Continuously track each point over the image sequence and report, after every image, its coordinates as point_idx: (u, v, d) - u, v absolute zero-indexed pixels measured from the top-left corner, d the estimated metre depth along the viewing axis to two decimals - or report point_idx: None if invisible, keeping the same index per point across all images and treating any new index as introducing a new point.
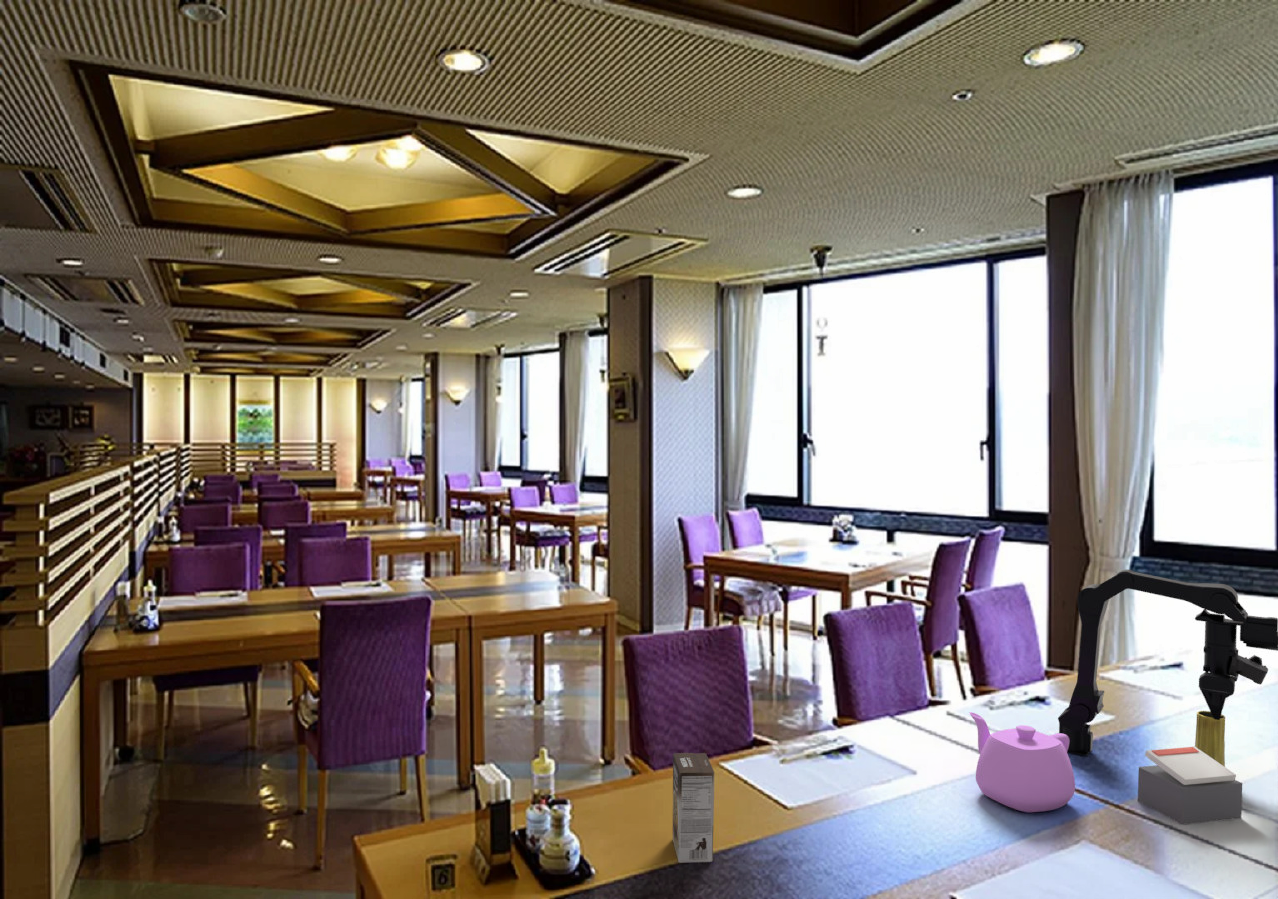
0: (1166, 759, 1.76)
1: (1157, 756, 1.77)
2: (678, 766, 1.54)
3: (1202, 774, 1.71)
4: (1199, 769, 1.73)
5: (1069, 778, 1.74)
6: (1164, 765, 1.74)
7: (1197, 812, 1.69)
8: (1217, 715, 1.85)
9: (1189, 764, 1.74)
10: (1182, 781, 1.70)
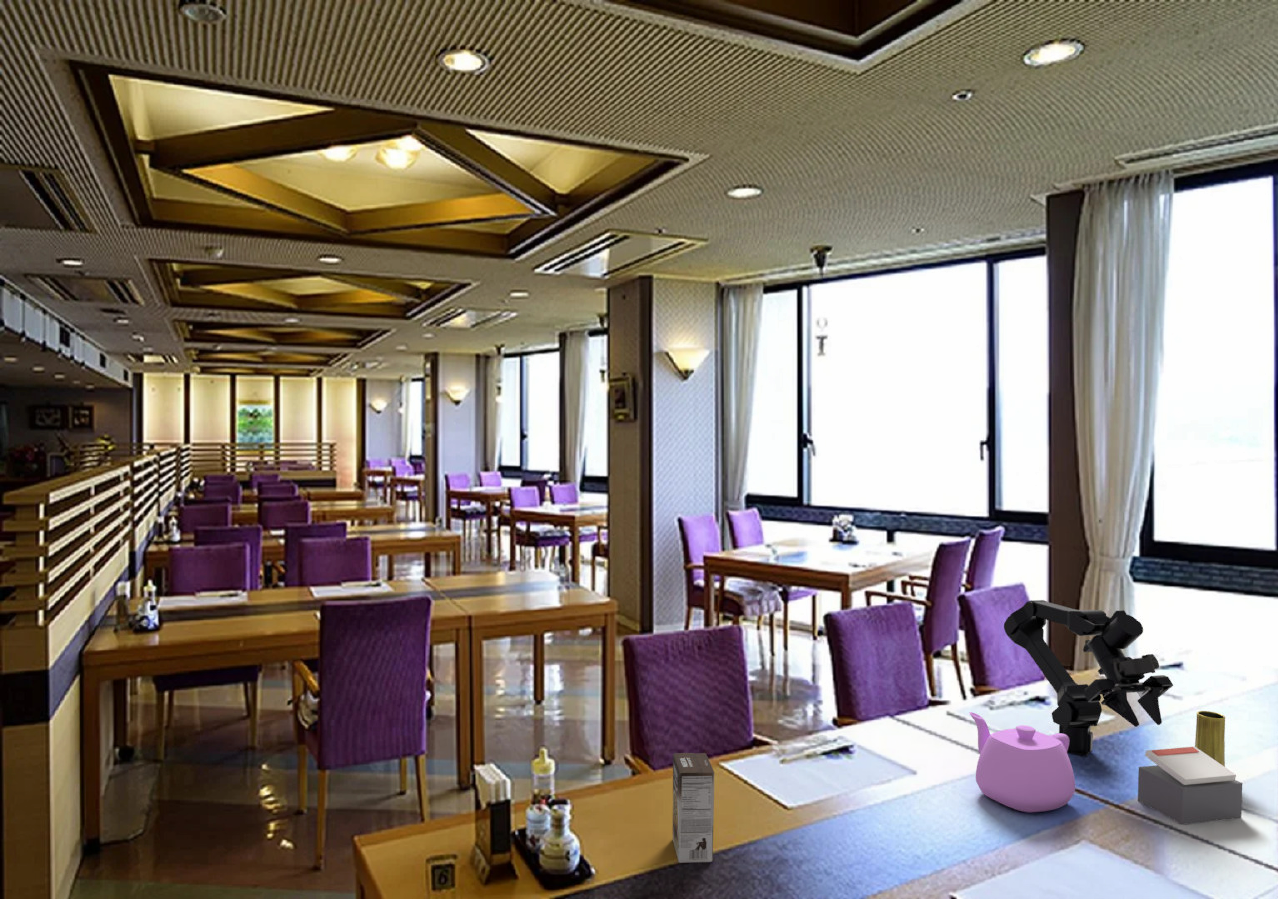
0: (1166, 759, 1.76)
1: (1157, 756, 1.77)
2: (678, 766, 1.54)
3: (1202, 774, 1.71)
4: (1199, 769, 1.73)
5: (1069, 778, 1.74)
6: (1164, 765, 1.74)
7: (1197, 812, 1.69)
8: (1133, 721, 1.85)
9: (1189, 764, 1.74)
10: (1182, 781, 1.70)
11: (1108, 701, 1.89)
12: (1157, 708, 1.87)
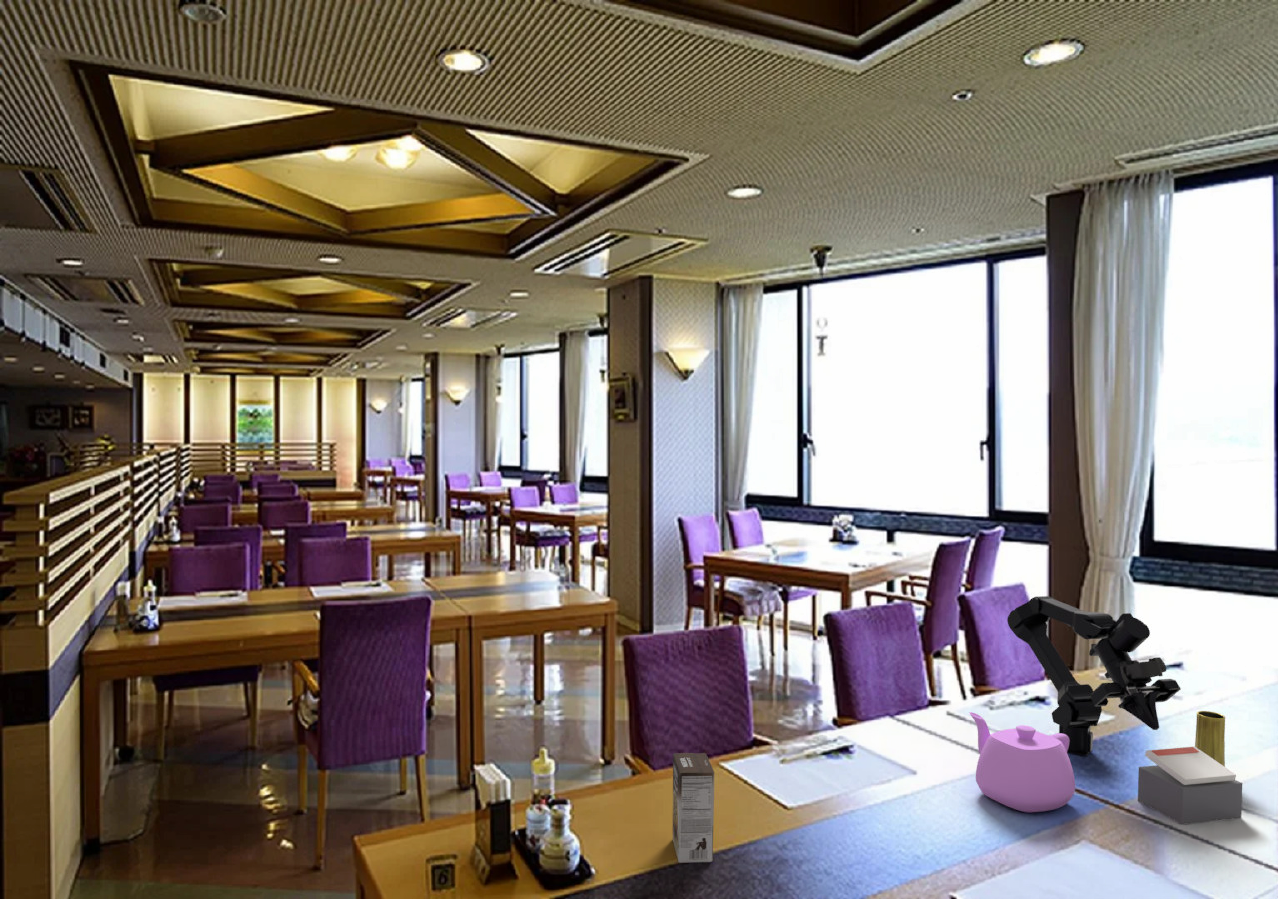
0: (1166, 759, 1.76)
1: (1157, 756, 1.77)
2: (678, 766, 1.54)
3: (1202, 774, 1.71)
4: (1199, 769, 1.73)
5: (1069, 778, 1.74)
6: (1164, 765, 1.74)
7: (1197, 812, 1.69)
8: (1151, 724, 1.84)
9: (1189, 764, 1.74)
10: (1182, 781, 1.70)
11: (1125, 704, 1.88)
12: (1154, 713, 1.85)
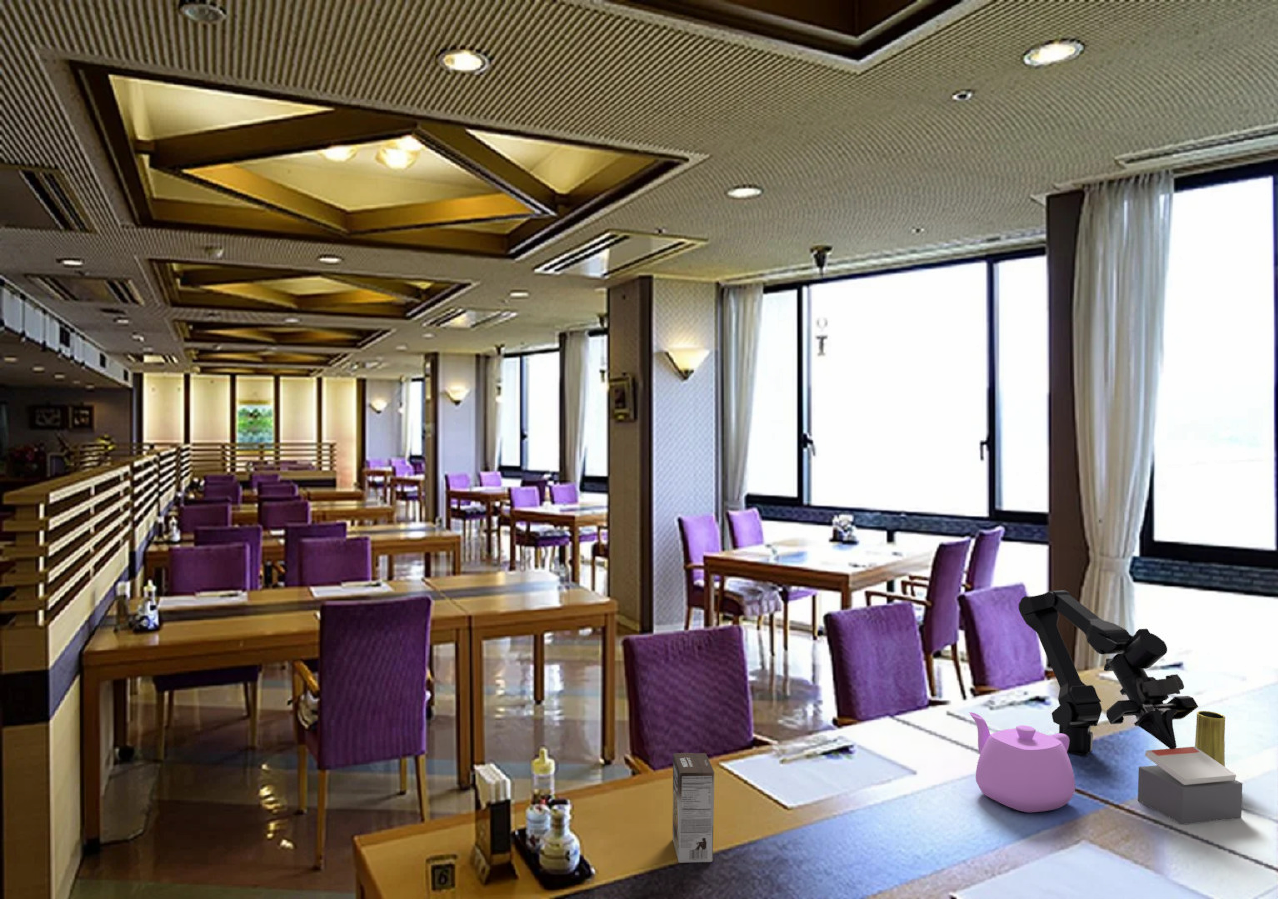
0: (1166, 759, 1.76)
1: (1157, 756, 1.77)
2: (678, 766, 1.54)
3: (1202, 774, 1.71)
4: (1199, 769, 1.73)
5: (1069, 778, 1.74)
6: (1164, 765, 1.74)
7: (1197, 812, 1.69)
8: (1168, 743, 1.79)
9: (1189, 764, 1.74)
10: (1182, 781, 1.70)
11: (1142, 722, 1.84)
12: (1171, 731, 1.80)
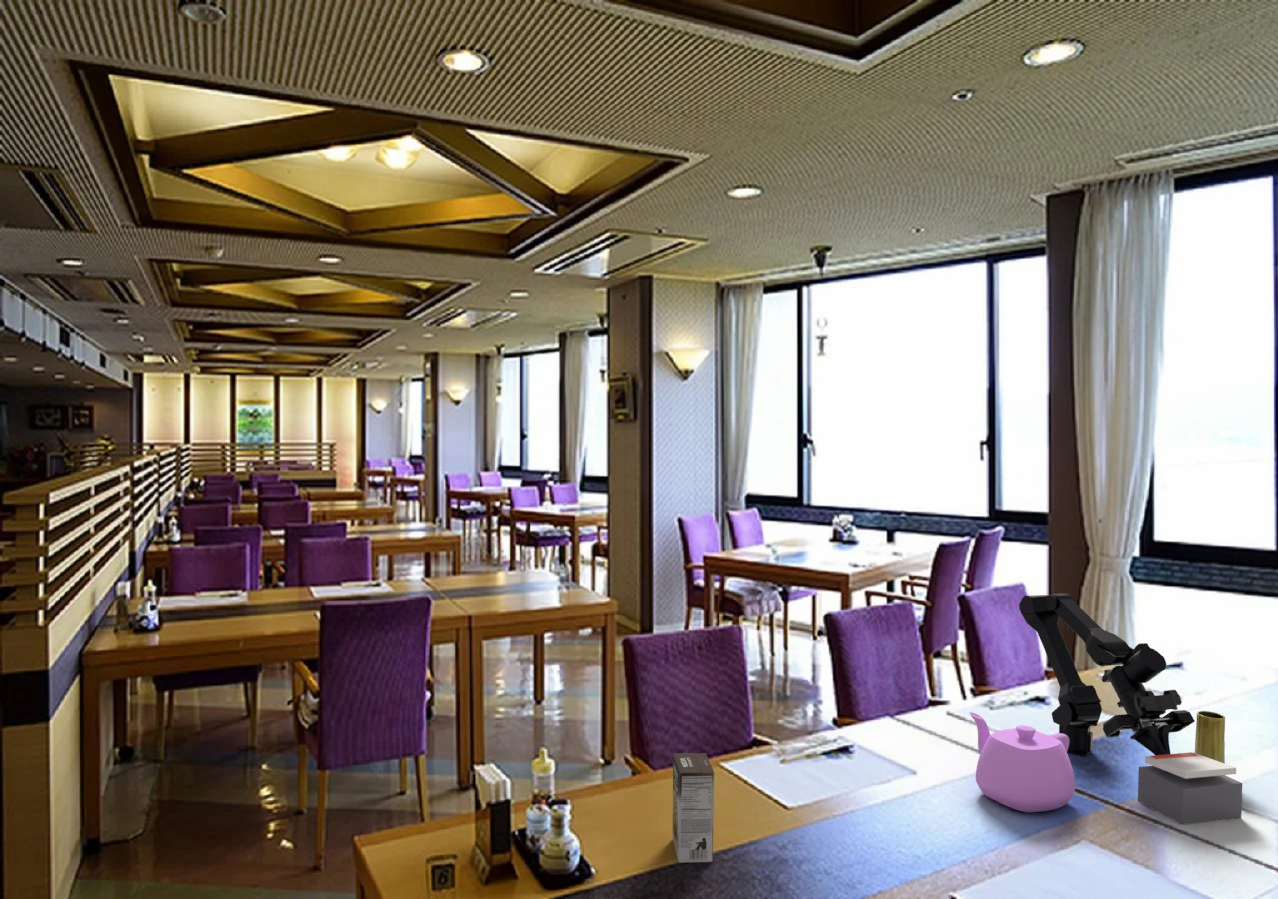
0: (1165, 761, 1.76)
1: (1156, 759, 1.77)
2: (678, 766, 1.54)
3: (1202, 768, 1.71)
4: (1198, 765, 1.73)
5: (1069, 778, 1.74)
6: (1164, 765, 1.74)
7: (1197, 812, 1.69)
8: None
9: (1188, 763, 1.74)
10: (1183, 775, 1.69)
11: (1138, 736, 1.85)
12: (1167, 746, 1.81)
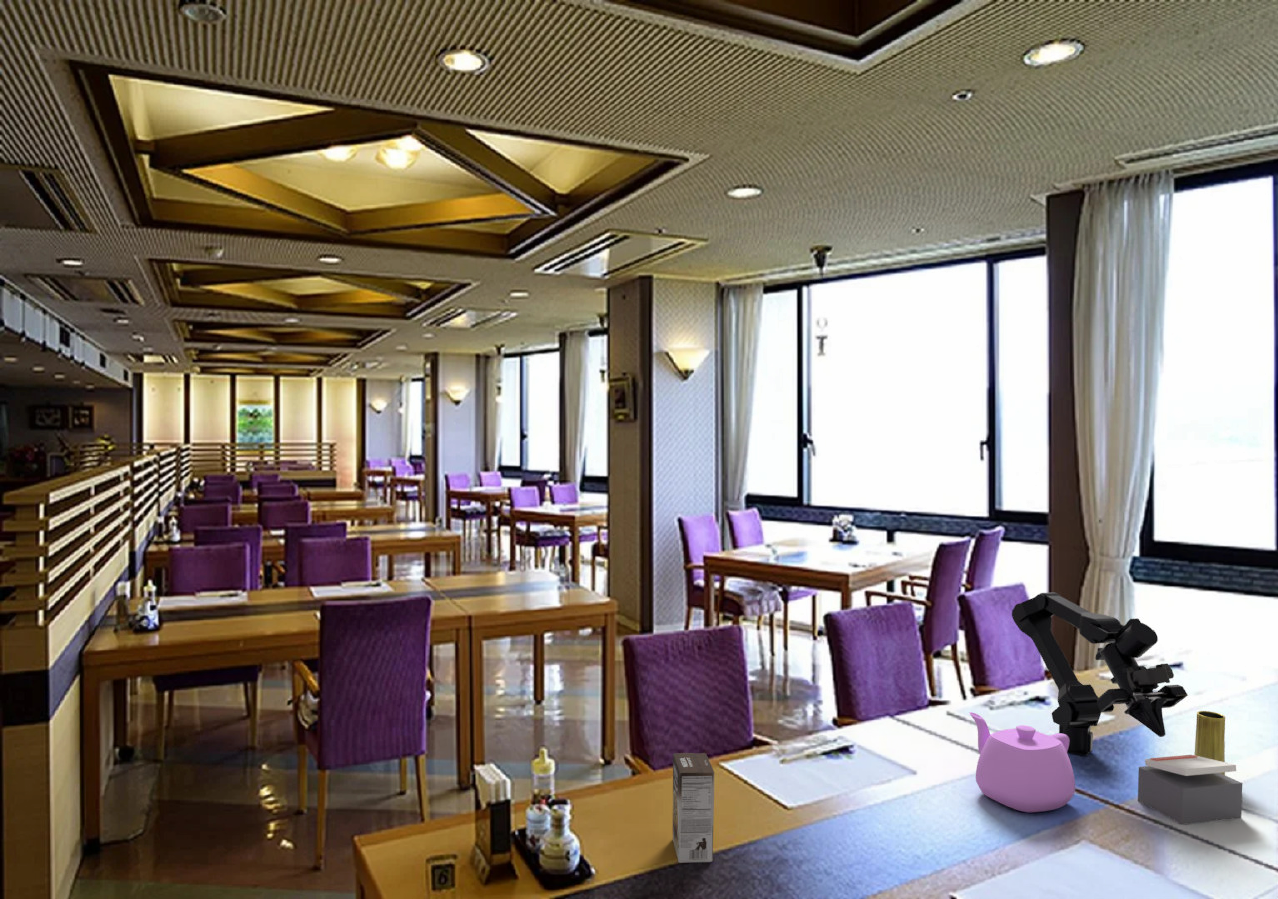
0: (1165, 761, 1.76)
1: (1156, 761, 1.77)
2: (678, 766, 1.54)
3: (1201, 766, 1.71)
4: (1198, 764, 1.73)
5: (1069, 778, 1.74)
6: (1163, 765, 1.74)
7: (1197, 812, 1.69)
8: (1157, 731, 1.82)
9: (1188, 762, 1.75)
10: (1183, 772, 1.69)
11: (1132, 710, 1.86)
12: (1161, 719, 1.83)
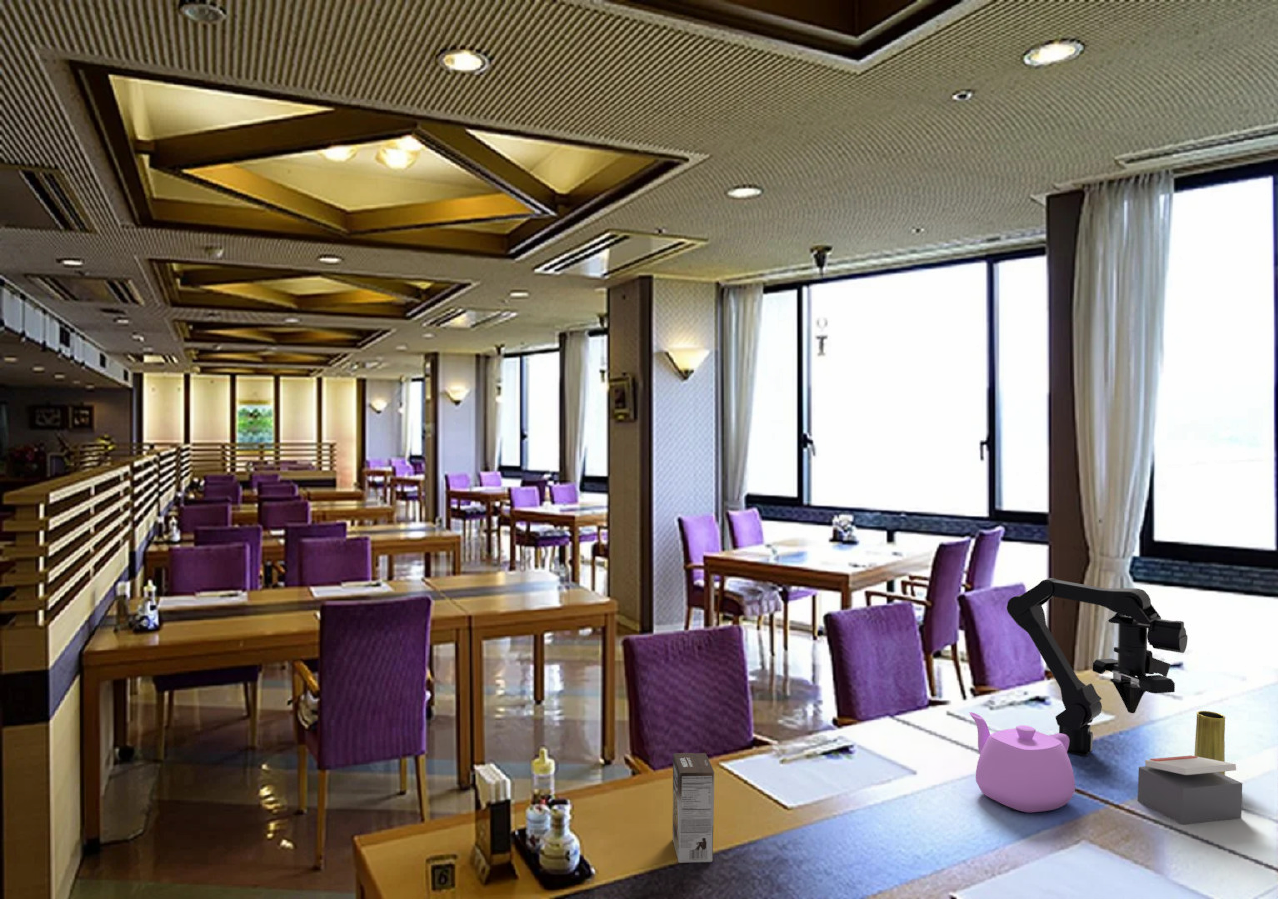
0: (1165, 762, 1.76)
1: (1156, 761, 1.77)
2: (678, 766, 1.54)
3: (1201, 765, 1.71)
4: (1198, 764, 1.73)
5: (1069, 778, 1.74)
6: (1163, 765, 1.74)
7: (1197, 812, 1.69)
8: (1134, 709, 1.97)
9: (1188, 762, 1.75)
10: (1183, 772, 1.69)
11: None
12: None
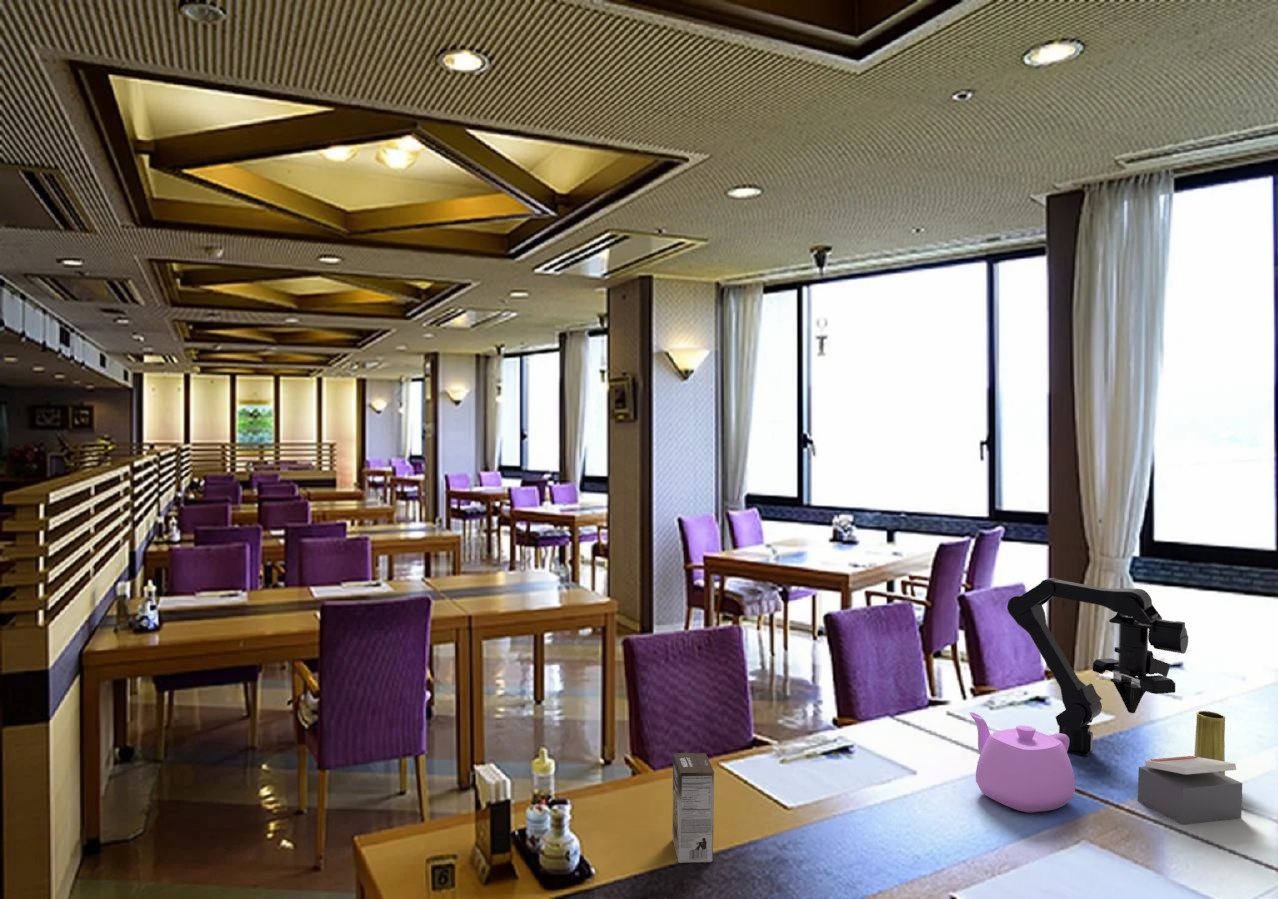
0: (1165, 762, 1.76)
1: (1156, 761, 1.77)
2: (678, 766, 1.54)
3: (1201, 765, 1.71)
4: (1198, 763, 1.73)
5: (1069, 778, 1.74)
6: (1163, 765, 1.74)
7: (1197, 812, 1.69)
8: (1134, 709, 1.97)
9: (1188, 762, 1.75)
10: (1182, 771, 1.69)
11: None
12: None
